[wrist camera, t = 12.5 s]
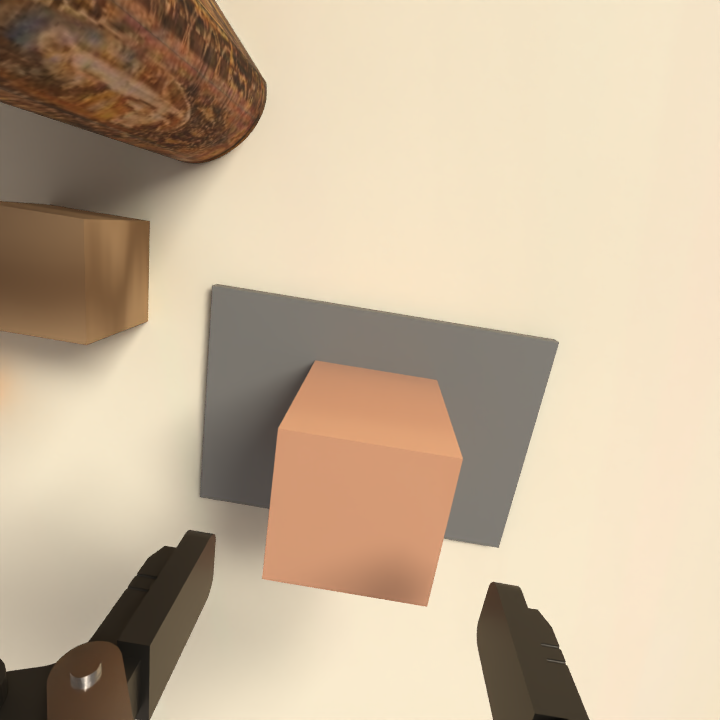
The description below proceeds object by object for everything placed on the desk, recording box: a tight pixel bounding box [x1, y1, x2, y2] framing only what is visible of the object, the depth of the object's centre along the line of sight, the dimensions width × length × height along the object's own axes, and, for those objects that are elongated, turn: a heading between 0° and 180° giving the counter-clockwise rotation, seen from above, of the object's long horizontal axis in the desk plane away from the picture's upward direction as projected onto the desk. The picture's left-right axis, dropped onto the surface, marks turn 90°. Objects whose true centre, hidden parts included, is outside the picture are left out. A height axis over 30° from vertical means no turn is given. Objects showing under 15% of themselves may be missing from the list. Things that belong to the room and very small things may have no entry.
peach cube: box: [262, 360, 463, 607], centre depth 19 cm, size 6×6×8 cm
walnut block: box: [0, 201, 150, 345], centre depth 20 cm, size 5×5×5 cm
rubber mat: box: [200, 284, 559, 548], centre depth 24 cm, size 12×17×1 cm
